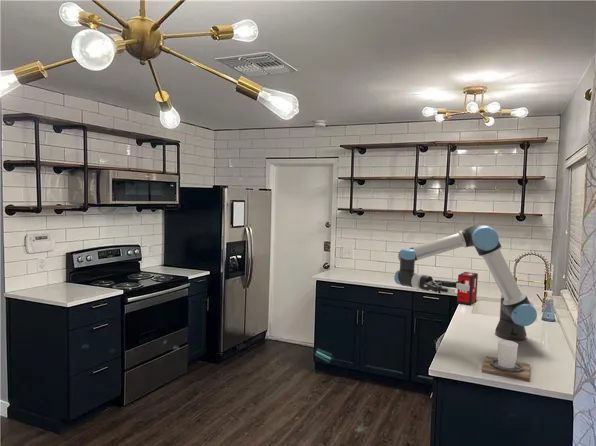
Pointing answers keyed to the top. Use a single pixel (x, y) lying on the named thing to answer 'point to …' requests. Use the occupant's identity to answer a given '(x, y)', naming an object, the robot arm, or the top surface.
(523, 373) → the coaster board
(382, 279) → the top surface
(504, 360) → the white cup
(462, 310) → the top surface
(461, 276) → the cleaning product box
